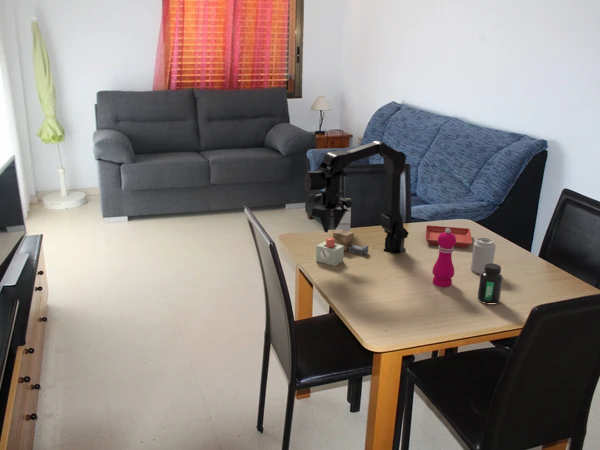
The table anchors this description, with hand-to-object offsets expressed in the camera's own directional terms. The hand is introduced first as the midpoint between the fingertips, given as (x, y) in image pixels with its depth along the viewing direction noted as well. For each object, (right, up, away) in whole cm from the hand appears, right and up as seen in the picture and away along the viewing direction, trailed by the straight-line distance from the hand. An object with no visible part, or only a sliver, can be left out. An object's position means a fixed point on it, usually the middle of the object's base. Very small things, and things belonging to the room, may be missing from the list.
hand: (330, 230), depth 216 cm
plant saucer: (+49, -5, +28) cm, 57 cm away
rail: (+8, -8, +15) cm, 18 cm away
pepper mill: (+37, -18, -13) cm, 43 cm away
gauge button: (0, -7, +2) cm, 8 cm away
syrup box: (+7, -2, +33) cm, 34 cm away
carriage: (+5, -7, +16) cm, 19 cm away
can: (+54, -15, -2) cm, 56 cm away
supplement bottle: (+49, -23, -24) cm, 60 cm away
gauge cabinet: (0, -11, +4) cm, 12 cm away
